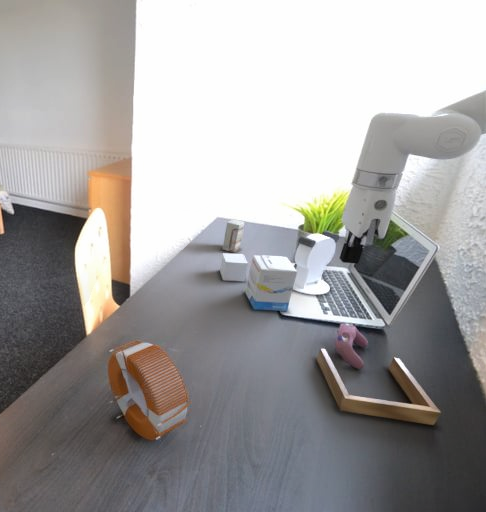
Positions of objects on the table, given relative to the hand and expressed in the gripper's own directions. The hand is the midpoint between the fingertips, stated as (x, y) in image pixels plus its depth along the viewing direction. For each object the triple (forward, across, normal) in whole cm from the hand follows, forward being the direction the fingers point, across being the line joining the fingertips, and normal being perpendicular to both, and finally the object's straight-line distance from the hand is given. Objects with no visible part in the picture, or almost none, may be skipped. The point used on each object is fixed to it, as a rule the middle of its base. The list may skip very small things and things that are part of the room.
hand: (348, 261), depth 81 cm
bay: (+16, -21, 0) cm, 27 cm away
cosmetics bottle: (+17, +40, +18) cm, 47 cm away
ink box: (+17, +7, +13) cm, 22 cm away
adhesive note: (+17, +20, +20) cm, 33 cm away
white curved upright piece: (+17, +19, 0) cm, 25 cm away
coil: (+17, -38, +41) cm, 58 cm away
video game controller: (+17, -11, 0) cm, 20 cm away
